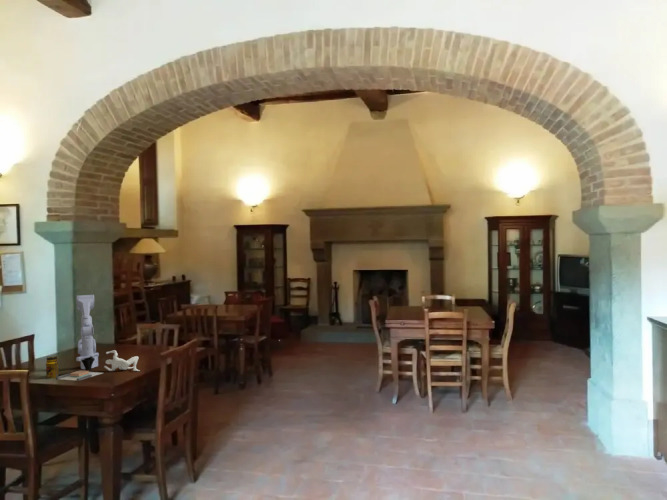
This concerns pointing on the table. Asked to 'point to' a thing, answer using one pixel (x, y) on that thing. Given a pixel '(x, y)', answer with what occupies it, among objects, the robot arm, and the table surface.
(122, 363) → the person figurine
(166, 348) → the table surface
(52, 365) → the condiment
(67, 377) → the board
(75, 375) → the tile
